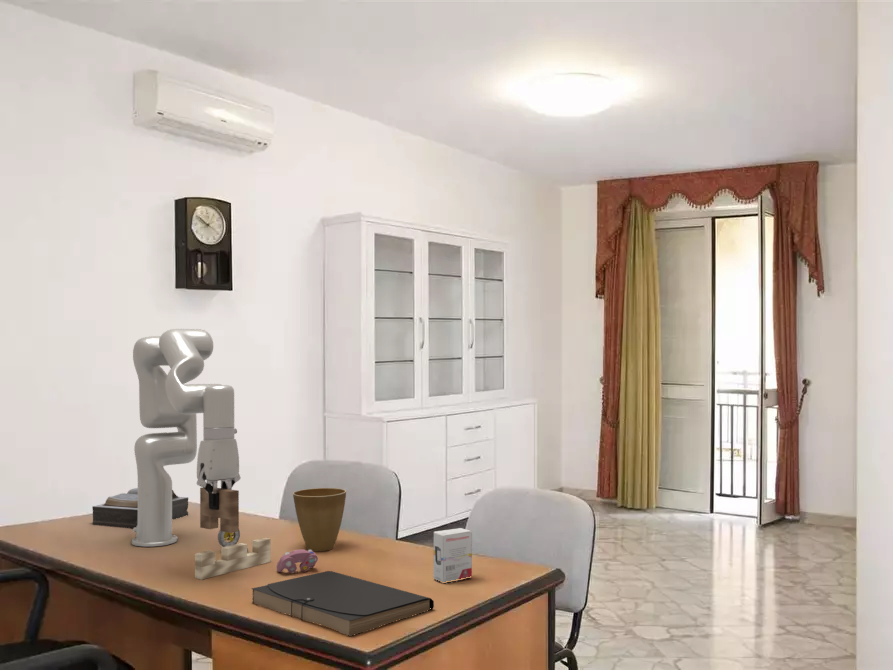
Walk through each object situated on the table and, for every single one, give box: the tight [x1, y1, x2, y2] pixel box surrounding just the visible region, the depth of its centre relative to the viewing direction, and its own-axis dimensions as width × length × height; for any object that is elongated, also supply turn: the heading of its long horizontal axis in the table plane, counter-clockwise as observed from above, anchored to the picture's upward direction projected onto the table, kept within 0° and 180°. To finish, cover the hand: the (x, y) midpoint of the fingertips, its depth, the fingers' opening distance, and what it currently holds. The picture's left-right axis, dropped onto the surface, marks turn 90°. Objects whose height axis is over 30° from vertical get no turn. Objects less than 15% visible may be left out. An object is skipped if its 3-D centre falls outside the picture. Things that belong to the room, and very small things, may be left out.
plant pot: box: [292, 487, 347, 552], centre depth 240 cm, size 15×15×16 cm
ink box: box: [432, 527, 473, 582], centre depth 207 cm, size 9×5×12 cm, turn 123°
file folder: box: [251, 570, 435, 637], centre depth 185 cm, size 33×4×24 cm
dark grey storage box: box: [91, 487, 189, 530], centre depth 280 cm, size 23×27×10 cm
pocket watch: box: [217, 529, 249, 553], centre depth 235 cm, size 8×8×10 cm
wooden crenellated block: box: [194, 537, 272, 580], centre depth 216 cm, size 22×2×6 cm, turn 143°
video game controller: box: [276, 548, 319, 574], centre depth 214 cm, size 10×5×7 cm, turn 118°
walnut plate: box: [199, 487, 240, 533], centre depth 212 cm, size 12×2×10 cm, turn 53°
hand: (219, 507), depth 212 cm, fingers closed on walnut plate, 2 cm apart
